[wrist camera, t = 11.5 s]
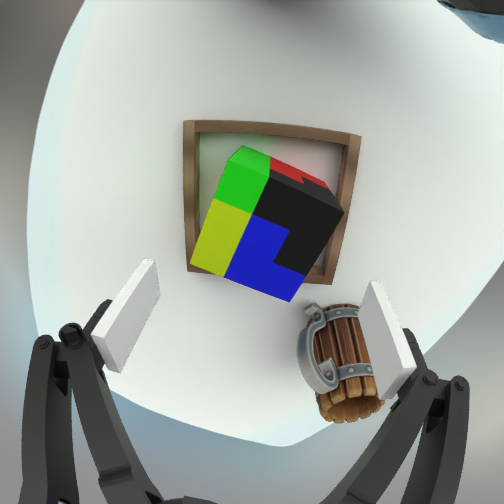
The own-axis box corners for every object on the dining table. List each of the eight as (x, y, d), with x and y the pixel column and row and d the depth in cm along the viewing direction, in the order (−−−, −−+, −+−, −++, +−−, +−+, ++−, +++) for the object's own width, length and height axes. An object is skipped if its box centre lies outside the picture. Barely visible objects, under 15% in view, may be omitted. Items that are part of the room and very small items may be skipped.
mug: (380, 326, 39) (405, 403, 26) (328, 357, 43) (337, 432, 30) (328, 266, 35) (351, 355, 22) (268, 307, 39) (263, 397, 26)
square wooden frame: (189, 120, 27) (183, 120, 25) (355, 134, 26) (361, 136, 24) (191, 262, 36) (187, 271, 34) (329, 275, 35) (331, 284, 33)
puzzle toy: (286, 251, 34) (289, 302, 25) (212, 221, 33) (189, 263, 24) (324, 181, 29) (344, 212, 21) (242, 145, 28) (228, 159, 20)
